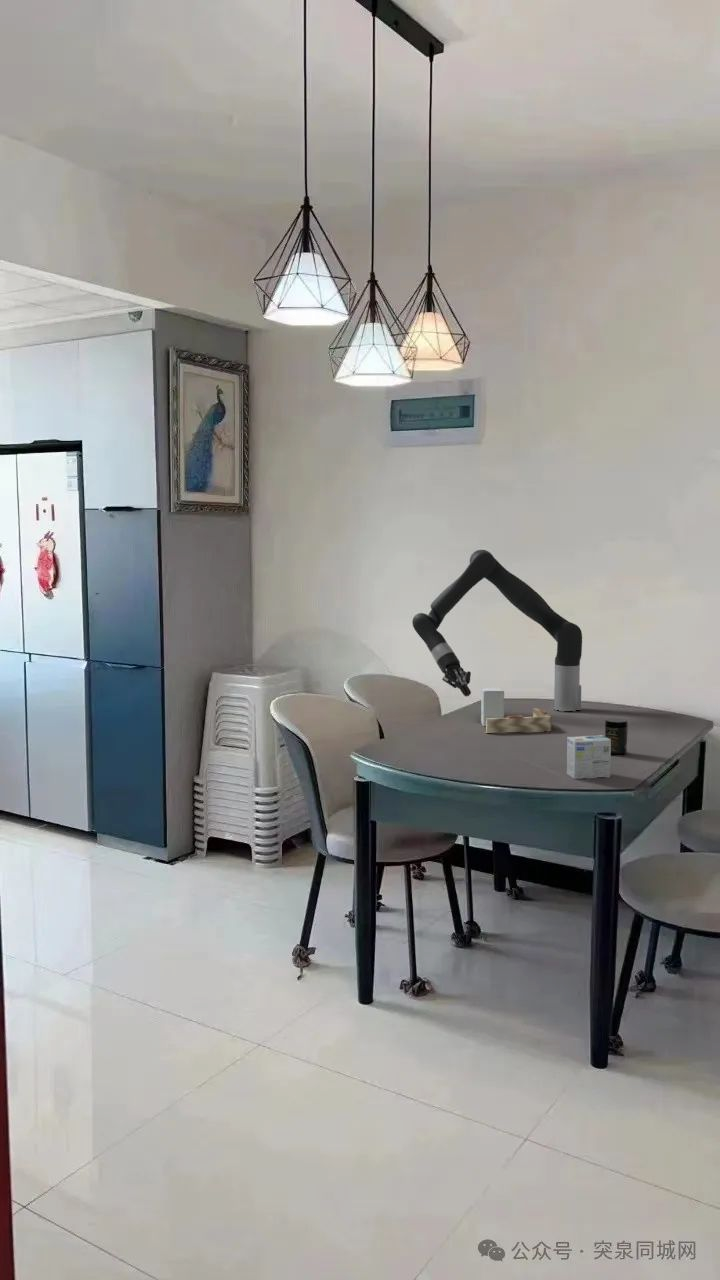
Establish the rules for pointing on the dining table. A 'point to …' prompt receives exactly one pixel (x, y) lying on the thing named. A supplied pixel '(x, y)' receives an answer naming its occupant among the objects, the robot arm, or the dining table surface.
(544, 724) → the wooden corner bracket
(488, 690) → the supplement box
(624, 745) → the supplement container
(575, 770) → the light bulb box
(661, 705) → the dining table surface
